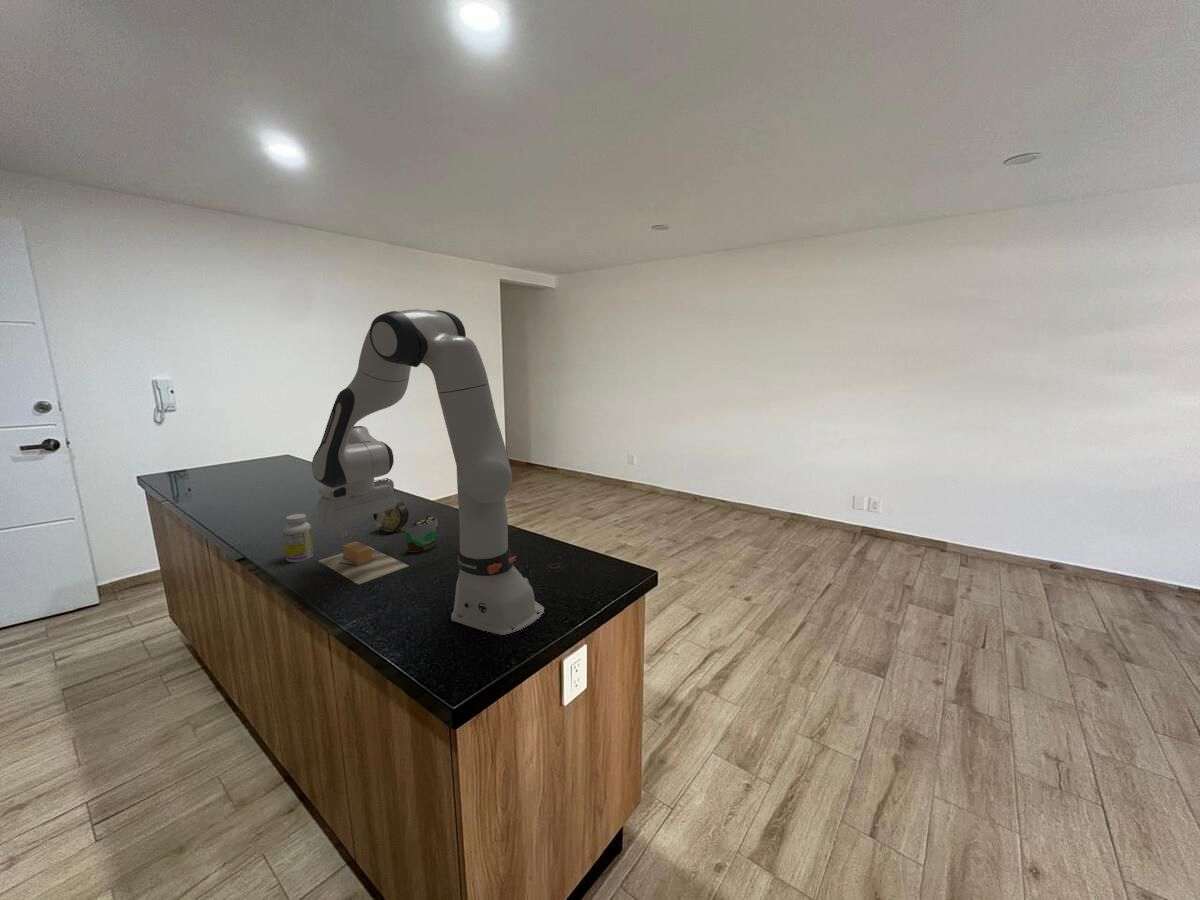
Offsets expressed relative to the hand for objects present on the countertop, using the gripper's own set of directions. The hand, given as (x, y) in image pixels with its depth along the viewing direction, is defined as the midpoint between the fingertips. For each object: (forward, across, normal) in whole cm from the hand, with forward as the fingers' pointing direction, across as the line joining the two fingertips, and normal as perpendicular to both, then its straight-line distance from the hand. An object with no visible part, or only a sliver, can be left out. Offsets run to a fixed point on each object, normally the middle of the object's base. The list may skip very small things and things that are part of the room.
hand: (361, 531), depth 128 cm
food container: (+10, -16, +5) cm, 20 cm away
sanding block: (+8, +2, 0) cm, 8 cm away
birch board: (+10, +2, +3) cm, 10 cm away
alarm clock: (+10, -18, -17) cm, 27 cm away
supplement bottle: (+9, +10, -17) cm, 22 cm away
